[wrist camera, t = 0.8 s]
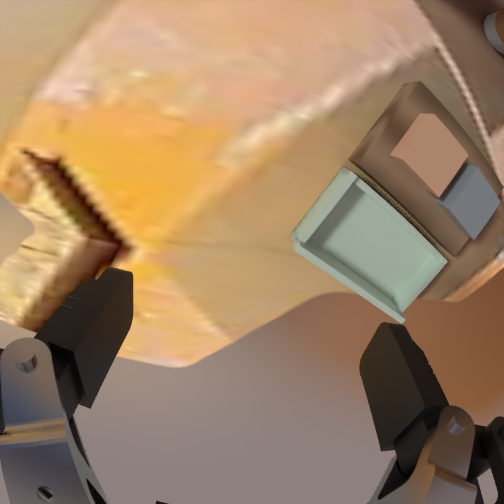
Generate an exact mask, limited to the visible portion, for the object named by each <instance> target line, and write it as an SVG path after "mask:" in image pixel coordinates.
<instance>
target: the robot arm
mask: <svg viewBox="0 0 504 504" xmlns="http://www.w3.org/2000/svg"><path fill="white" fill-rule="evenodd" d="M132 319H133V274H132V272H129V271H125V270H121V269H117V268H113V267H107V268H106V270H105V271H104V272H103V273H102V274H101V275H100V277H99V278H98V279H97V280H96V279H92V278H90V279H88V280H87V281H85V282H83V283H81V284H79V285H77V286H76V288H75V289H74V290H73V291H72V292H71V293H70V294H69V297H68V298H66V299H65V300H64V301H63V303H62V304H61V306H59V307H58V308H57V310H56V311H55V312H54V313H53V314H52V316H51V317H50V318H49V319H48V321H47V322H46V323H45V324H44V325H43V327H42V328H41V329H40V330H39V332H38V333H37V334H36V336H35V337H34V338H21V339H17V340H15V341H13V342H11V343H10V344H9V345H8V346H7V347H6V348H5V349H0V462H1V467H2V472H3V476H4V480H5V485H6V488H7V492H8V496H9V500H10V503H11V504H109V501H108V499H107V498H106V495H105V493H104V491H103V489H102V487H101V485H100V483H99V481H98V480H97V477H96V475H95V473H94V471H93V469H92V466H91V464H90V461H89V459H88V456H87V453H86V450H85V448H84V445H83V442H82V439H81V436H80V433H79V430H78V427H77V424H76V420H75V417H74V412H75V410H76V408H77V406H78V404H80V405H82V406H85V407H87V408H91V407H92V404H93V402H94V400H95V398H96V396H97V394H98V392H99V389H100V387H101V385H102V383H103V381H104V379H105V377H106V375H107V373H108V371H109V369H110V367H111V365H112V363H113V361H114V359H115V357H116V355H117V353H118V351H119V349H120V347H121V345H122V343H123V341H124V339H125V337H126V336H127V334H128V332H129V330H130V327H131V324H132ZM359 368H360V375H361V378H362V381H363V385H364V388H365V392H366V395H367V399H368V403H369V406H370V410H371V413H372V417H373V421H374V425H375V429H376V433H377V436H378V440H379V444H380V449H381V451H388V450H395V451H396V455H395V456H394V457H393V458H392V459H391V461H390V463H389V465H388V467H387V469H386V471H385V473H384V475H383V477H382V479H381V481H380V483H379V485H378V486H377V488H376V490H375V492H374V494H373V496H372V497H371V499H370V501H369V502H368V503H367V504H484V502H483V498H482V494H481V490H480V487H479V483H478V480H477V477H479V476H480V475H481V474H483V473H484V472H485V471H487V470H488V469H489V468H491V471H492V474H493V477H494V480H495V484H496V487H497V491H498V498H497V501H496V503H495V504H504V417H501V416H500V417H496V418H495V419H494V420H493V421H492V422H491V423H490V424H489V425H488V426H487V427H485V426H480V425H475V424H474V422H473V420H472V418H471V416H470V415H469V414H468V413H467V412H466V411H465V410H464V409H462V408H460V407H458V406H452V405H451V406H450V405H449V403H448V401H447V399H446V397H445V394H444V392H443V390H442V388H441V386H440V384H439V382H438V380H437V378H436V376H435V374H433V370H432V368H431V366H430V365H429V364H428V360H427V358H426V356H425V355H424V352H423V351H422V350H421V349H420V348H419V346H418V345H416V343H415V342H414V341H413V340H412V338H411V336H410V334H409V333H408V331H407V329H406V327H405V326H404V325H400V324H393V323H386V322H383V323H381V324H380V326H379V327H378V329H377V330H376V332H375V334H374V336H373V338H372V339H371V341H370V343H369V345H368V346H367V348H366V350H365V351H364V353H363V355H362V357H361V360H360V367H359ZM4 430H5V432H4ZM3 432H4V433H3ZM156 504H167V503H163V502H159V501H156Z"/></svg>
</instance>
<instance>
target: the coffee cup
mask: <svg viewBox="0 0 504 504" xmlns="http://www.w3.org/2000/svg"><path fill="white" fill-rule="evenodd" d="M484 31H485V34H486V37H487V39H488V41H489V42H490V44H491V45H492V46H493V47H494V48H495V49H496V50H497V51H499V52H501V53H502V54H504V9H501V10H499V11H498V12H495V13H492V14H490V15H488V16H487V17H486V19H485V21H484Z"/></svg>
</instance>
